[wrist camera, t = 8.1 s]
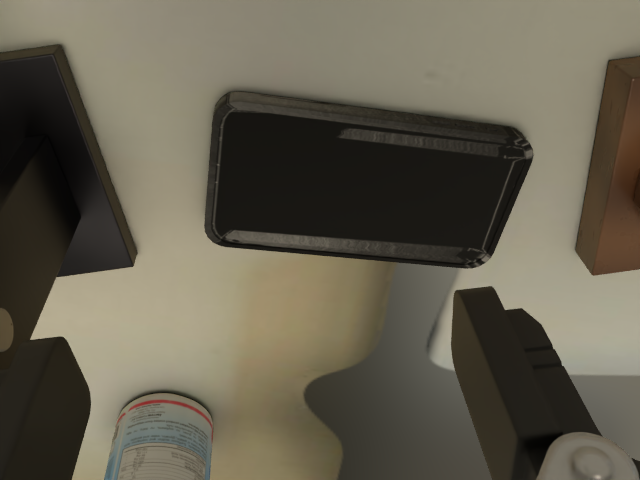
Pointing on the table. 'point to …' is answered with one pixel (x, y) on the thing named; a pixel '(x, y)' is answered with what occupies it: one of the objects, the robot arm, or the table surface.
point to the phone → (359, 181)
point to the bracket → (49, 192)
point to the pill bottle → (161, 440)
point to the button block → (614, 177)
